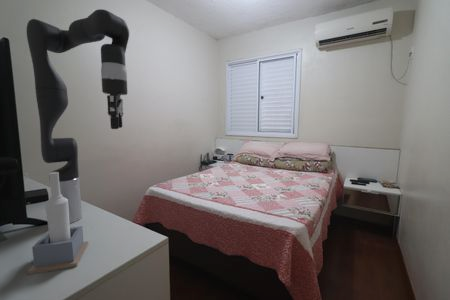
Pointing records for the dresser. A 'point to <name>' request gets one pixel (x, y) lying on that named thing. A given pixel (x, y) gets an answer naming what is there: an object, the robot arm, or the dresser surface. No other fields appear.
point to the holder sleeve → (58, 252)
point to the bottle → (57, 212)
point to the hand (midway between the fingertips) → (117, 128)
